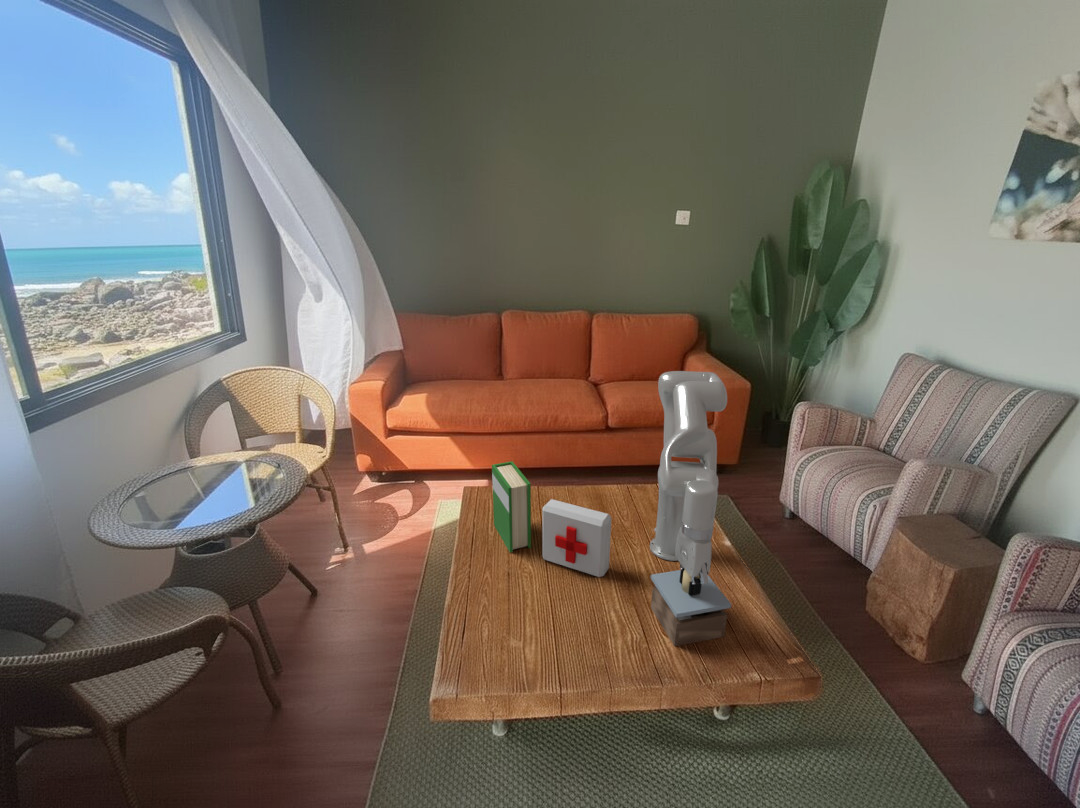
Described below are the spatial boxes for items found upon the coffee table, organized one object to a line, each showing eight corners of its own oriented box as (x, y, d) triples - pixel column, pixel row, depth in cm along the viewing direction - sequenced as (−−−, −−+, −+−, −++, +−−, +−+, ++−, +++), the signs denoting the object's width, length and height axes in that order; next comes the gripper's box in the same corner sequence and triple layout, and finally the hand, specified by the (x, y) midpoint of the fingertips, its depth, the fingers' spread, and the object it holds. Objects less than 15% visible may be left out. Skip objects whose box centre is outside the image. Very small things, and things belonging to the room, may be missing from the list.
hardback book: (531, 548, 171) (530, 483, 163) (510, 553, 168) (508, 488, 160) (513, 521, 186) (512, 461, 178) (494, 525, 183) (491, 464, 175)
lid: (650, 578, 140) (652, 559, 138) (700, 570, 143) (702, 551, 141) (676, 617, 126) (678, 597, 124) (730, 607, 130) (733, 587, 127)
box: (650, 610, 143) (652, 587, 140) (696, 602, 146) (699, 579, 143) (674, 649, 130) (676, 623, 127) (723, 639, 133) (727, 614, 130)
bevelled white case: (538, 563, 163) (538, 508, 156) (550, 549, 170) (550, 496, 163) (600, 583, 154) (603, 525, 147) (610, 568, 160) (613, 512, 154)
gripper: (667, 512, 135) (662, 569, 141) (700, 550, 120) (692, 613, 126) (693, 509, 136) (687, 565, 143) (729, 546, 121) (719, 608, 128)
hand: (689, 587), depth 134 cm, fingers closed on lid, 4 cm apart
